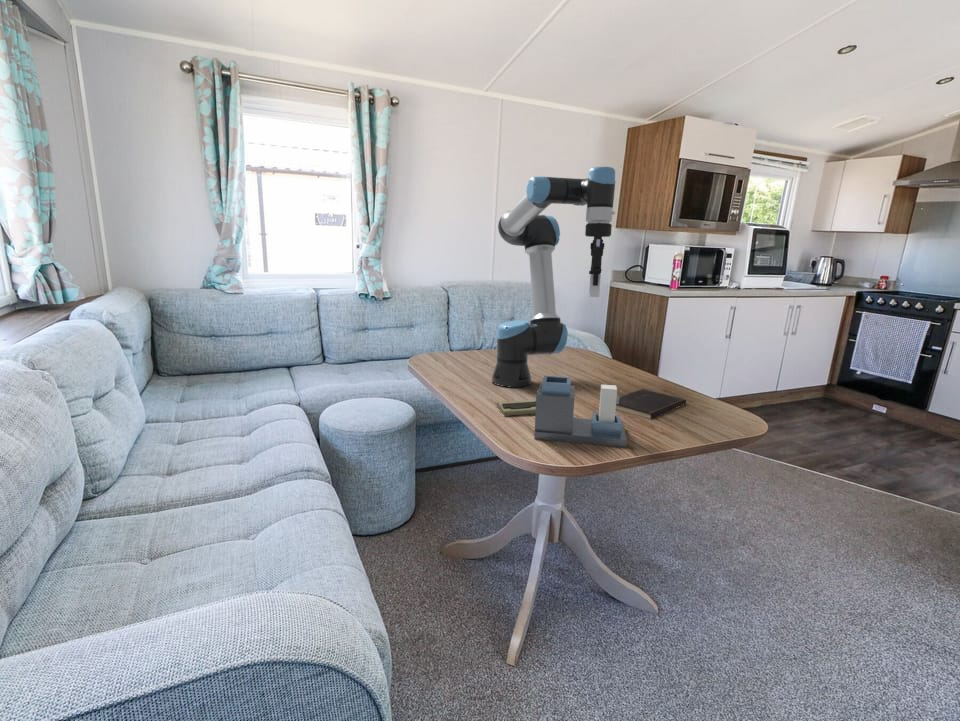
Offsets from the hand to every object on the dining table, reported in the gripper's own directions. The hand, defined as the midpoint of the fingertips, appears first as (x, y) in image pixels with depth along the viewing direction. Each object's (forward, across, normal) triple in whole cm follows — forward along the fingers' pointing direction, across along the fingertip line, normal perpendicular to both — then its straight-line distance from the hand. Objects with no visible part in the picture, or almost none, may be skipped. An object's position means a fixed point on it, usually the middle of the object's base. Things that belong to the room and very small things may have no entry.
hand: (593, 294), depth 149 cm
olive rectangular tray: (+37, -8, +19) cm, 43 cm away
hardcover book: (+37, +8, -20) cm, 43 cm away
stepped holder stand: (+36, -23, +2) cm, 43 cm away
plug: (+34, -23, -5) cm, 42 cm away
